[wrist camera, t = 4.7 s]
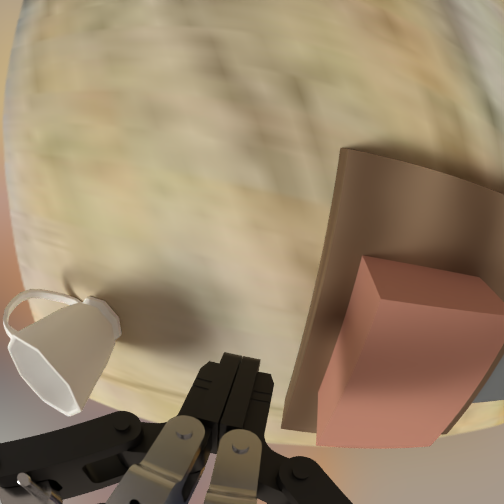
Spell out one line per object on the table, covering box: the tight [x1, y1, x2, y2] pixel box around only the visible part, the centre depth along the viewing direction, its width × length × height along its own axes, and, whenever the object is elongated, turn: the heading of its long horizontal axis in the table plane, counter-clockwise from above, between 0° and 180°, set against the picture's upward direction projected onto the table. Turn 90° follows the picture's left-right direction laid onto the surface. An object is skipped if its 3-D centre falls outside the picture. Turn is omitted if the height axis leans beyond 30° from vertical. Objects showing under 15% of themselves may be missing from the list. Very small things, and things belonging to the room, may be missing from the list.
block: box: [316, 255, 504, 448], centre depth 12 cm, size 7×9×4 cm
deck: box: [281, 148, 504, 434], centre depth 15 cm, size 14×18×3 cm
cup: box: [3, 289, 122, 416], centre depth 18 cm, size 7×10×8 cm
